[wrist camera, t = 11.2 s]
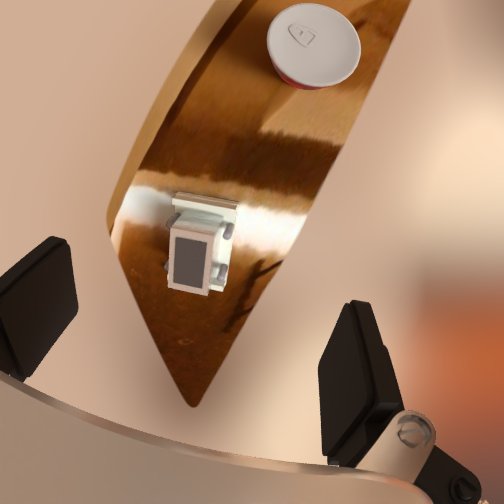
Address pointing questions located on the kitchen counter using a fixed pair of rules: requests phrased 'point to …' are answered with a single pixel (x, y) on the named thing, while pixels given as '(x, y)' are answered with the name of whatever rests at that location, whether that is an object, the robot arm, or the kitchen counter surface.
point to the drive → (194, 251)
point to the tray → (230, 216)
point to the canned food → (313, 46)
